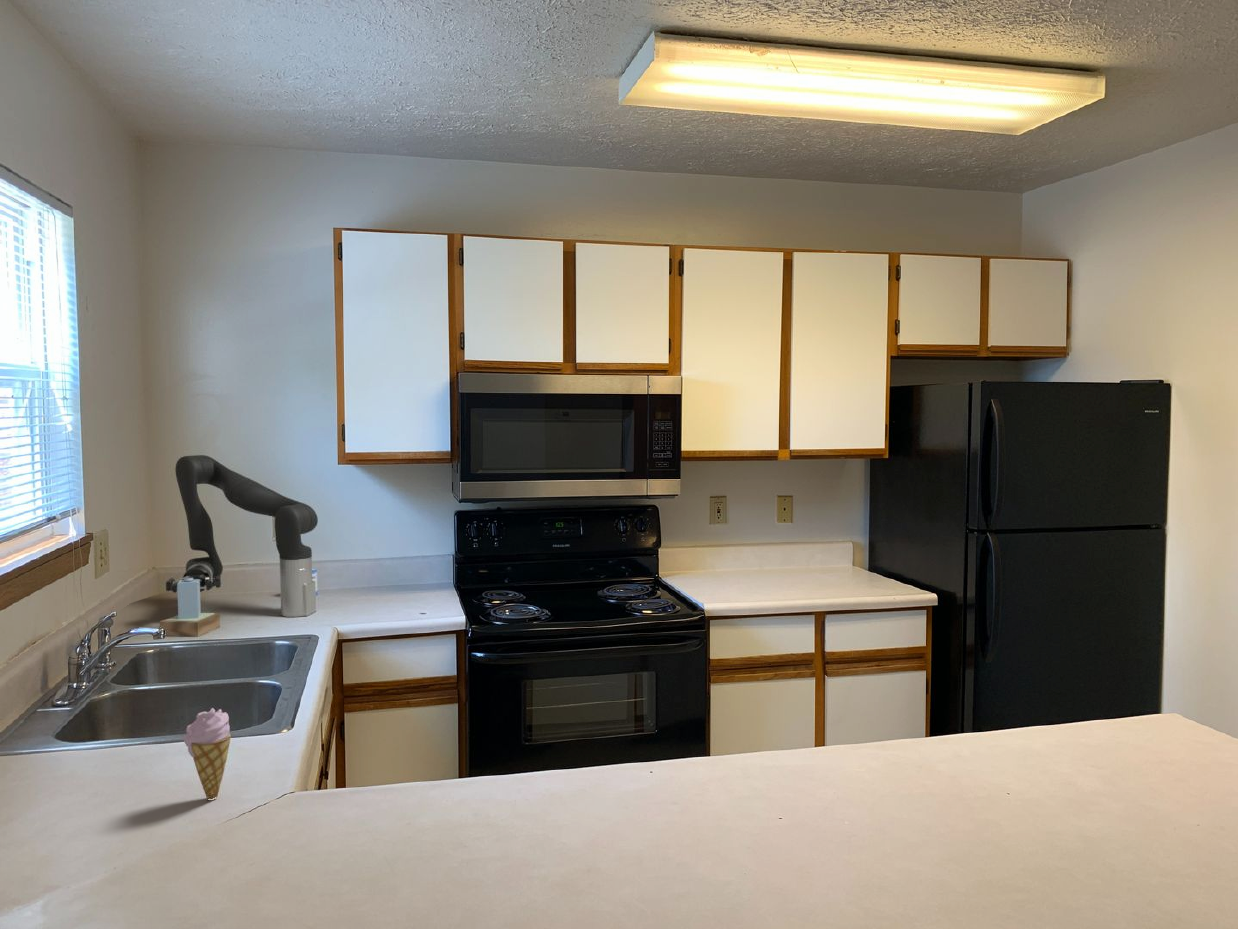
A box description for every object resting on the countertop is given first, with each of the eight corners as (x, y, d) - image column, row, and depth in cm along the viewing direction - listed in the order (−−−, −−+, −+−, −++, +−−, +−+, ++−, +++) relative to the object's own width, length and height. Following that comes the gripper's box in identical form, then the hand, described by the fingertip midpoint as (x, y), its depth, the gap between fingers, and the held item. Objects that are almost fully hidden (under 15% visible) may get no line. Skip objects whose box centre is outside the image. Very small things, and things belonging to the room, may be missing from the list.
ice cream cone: (196, 812, 136) (193, 717, 136) (179, 800, 141) (176, 708, 140) (239, 798, 141) (236, 706, 140) (221, 787, 146) (218, 697, 145)
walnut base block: (220, 626, 253) (219, 612, 253) (197, 636, 242) (197, 621, 242) (184, 626, 254) (183, 611, 254) (160, 635, 243) (159, 620, 243)
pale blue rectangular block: (200, 614, 251) (199, 576, 250) (198, 618, 246) (197, 579, 246) (181, 615, 250) (180, 577, 249) (178, 619, 245) (177, 580, 244)
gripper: (171, 566, 264) (162, 576, 248) (223, 563, 268) (218, 573, 253) (172, 591, 264) (163, 602, 249) (224, 588, 269) (219, 599, 253)
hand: (191, 587), depth 251 cm, fingers open, 8 cm apart
